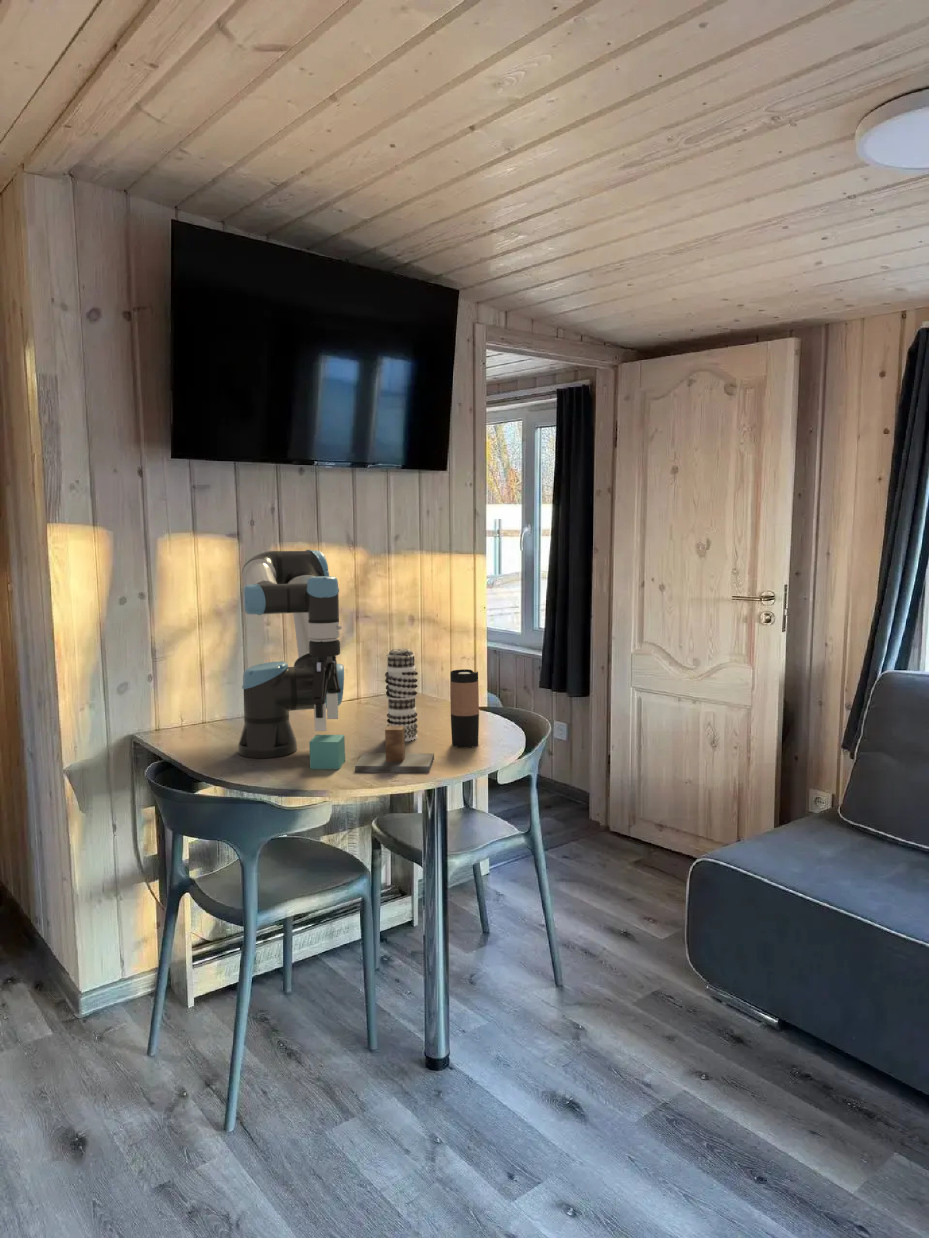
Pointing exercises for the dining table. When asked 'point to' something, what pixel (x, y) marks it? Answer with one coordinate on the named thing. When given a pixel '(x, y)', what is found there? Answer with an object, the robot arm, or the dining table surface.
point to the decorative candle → (402, 691)
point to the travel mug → (464, 708)
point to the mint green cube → (327, 752)
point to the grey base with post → (395, 756)
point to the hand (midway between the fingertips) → (326, 724)
